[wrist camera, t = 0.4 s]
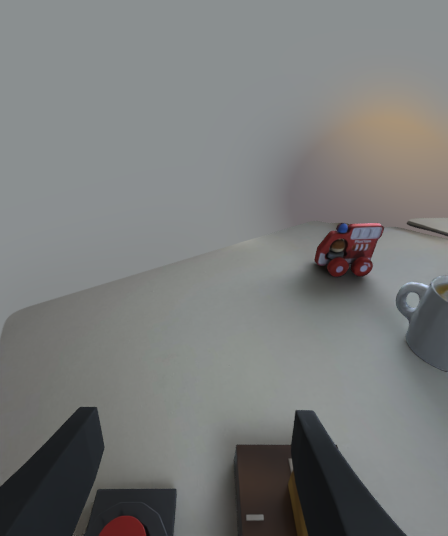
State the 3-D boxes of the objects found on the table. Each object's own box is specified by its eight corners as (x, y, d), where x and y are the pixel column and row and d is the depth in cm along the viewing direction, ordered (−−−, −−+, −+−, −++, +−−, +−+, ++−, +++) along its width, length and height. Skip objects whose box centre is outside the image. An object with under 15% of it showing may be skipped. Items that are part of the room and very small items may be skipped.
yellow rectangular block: (319, 556, 24) (331, 536, 22) (301, 556, 24) (311, 536, 22) (303, 483, 28) (311, 461, 26) (287, 483, 28) (295, 460, 26)
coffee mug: (493, 360, 47) (532, 307, 42) (455, 384, 43) (493, 328, 38) (411, 308, 57) (434, 259, 52) (374, 323, 53) (395, 272, 47)
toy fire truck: (306, 260, 69) (317, 215, 64) (359, 259, 71) (374, 216, 66) (319, 278, 63) (331, 230, 58) (376, 276, 65) (393, 230, 60)
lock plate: (382, 634, 23) (397, 622, 21) (244, 639, 22) (249, 627, 21) (329, 460, 33) (337, 443, 31) (233, 460, 32) (236, 443, 31)
